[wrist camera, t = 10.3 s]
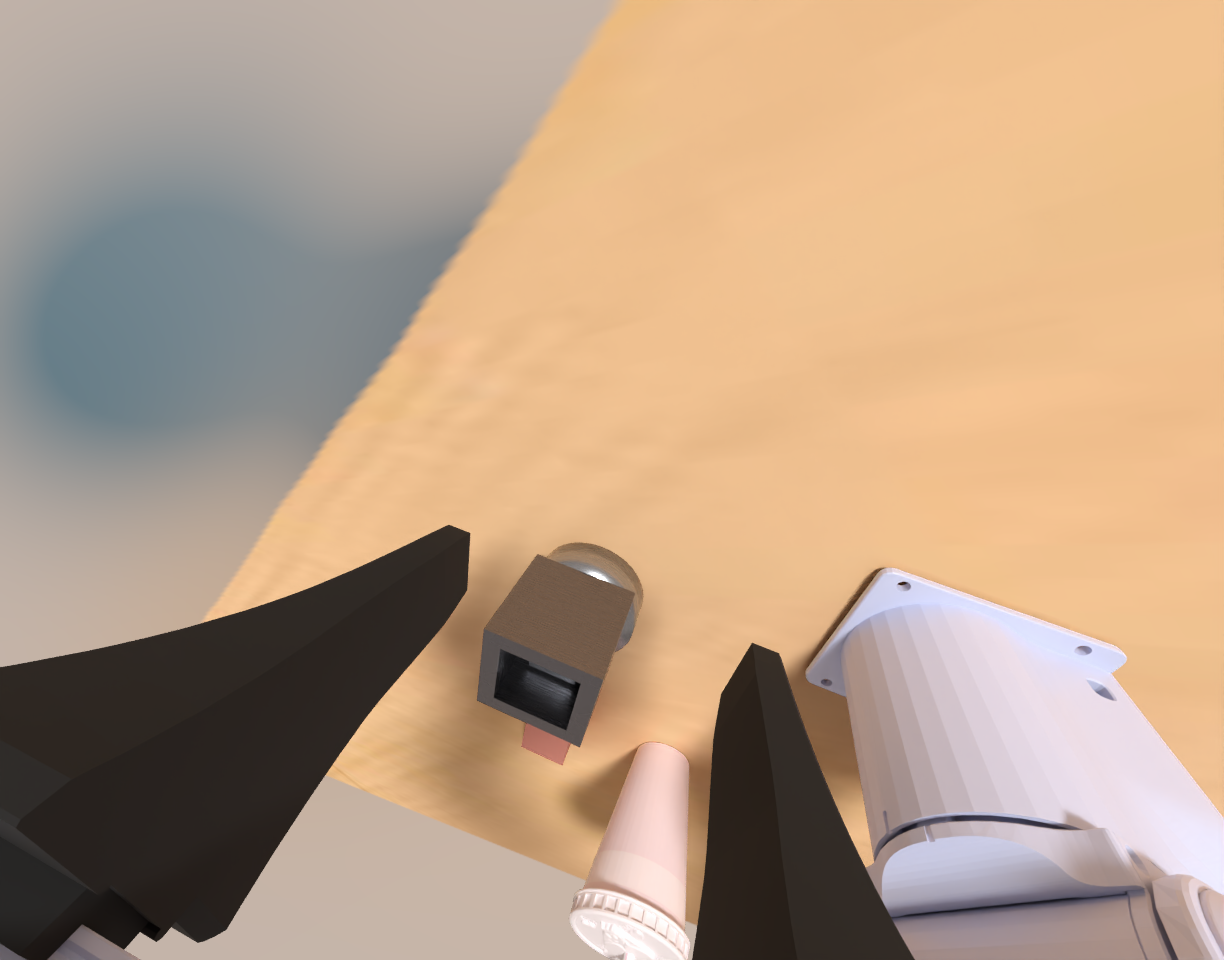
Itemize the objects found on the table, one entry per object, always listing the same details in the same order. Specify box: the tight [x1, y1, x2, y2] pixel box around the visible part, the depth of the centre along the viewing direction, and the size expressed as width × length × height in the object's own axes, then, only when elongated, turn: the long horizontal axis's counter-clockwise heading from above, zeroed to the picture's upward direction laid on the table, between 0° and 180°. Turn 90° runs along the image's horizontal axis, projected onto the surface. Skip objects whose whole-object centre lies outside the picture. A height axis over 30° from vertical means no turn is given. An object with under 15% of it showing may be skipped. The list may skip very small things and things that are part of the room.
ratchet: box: [521, 543, 643, 765], centre depth 26 cm, size 18×6×5 cm, turn 167°
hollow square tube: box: [477, 554, 635, 747], centre depth 21 cm, size 5×5×5 cm
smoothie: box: [569, 742, 690, 960], centre depth 25 cm, size 6×6×14 cm
